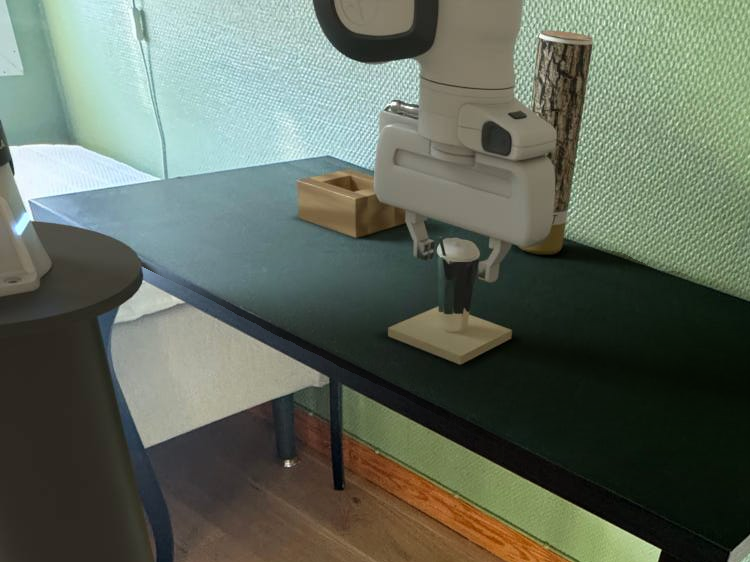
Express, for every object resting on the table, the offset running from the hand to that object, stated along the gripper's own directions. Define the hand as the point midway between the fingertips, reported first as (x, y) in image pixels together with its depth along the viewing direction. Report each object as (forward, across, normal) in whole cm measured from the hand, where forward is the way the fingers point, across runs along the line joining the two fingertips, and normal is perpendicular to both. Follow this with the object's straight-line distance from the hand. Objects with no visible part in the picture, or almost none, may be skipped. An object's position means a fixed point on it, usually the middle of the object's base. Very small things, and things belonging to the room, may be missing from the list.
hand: (454, 269), depth 85 cm
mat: (+7, 0, 0) cm, 7 cm away
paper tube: (+8, -10, +35) cm, 37 cm away
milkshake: (+7, 0, 0) cm, 7 cm away
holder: (+7, -35, +23) cm, 43 cm away
